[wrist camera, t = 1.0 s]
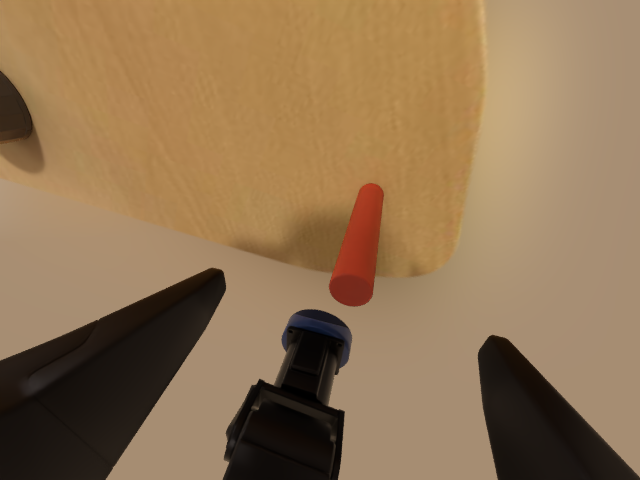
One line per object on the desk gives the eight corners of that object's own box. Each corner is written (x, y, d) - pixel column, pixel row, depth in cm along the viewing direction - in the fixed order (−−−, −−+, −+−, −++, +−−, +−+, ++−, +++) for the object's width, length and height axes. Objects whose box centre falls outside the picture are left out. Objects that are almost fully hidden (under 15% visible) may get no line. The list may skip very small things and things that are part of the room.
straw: (380, 208, 17) (368, 311, 10) (356, 204, 17) (326, 301, 10) (386, 185, 16) (376, 280, 9) (360, 181, 16) (330, 269, 9)
